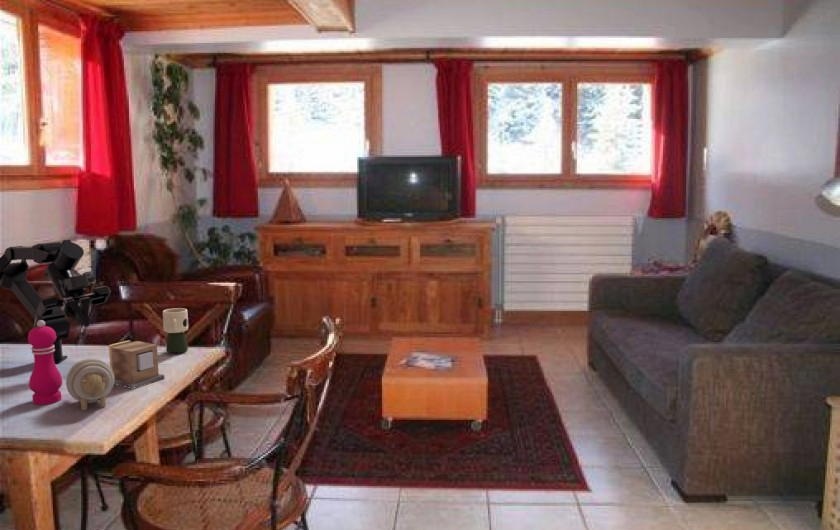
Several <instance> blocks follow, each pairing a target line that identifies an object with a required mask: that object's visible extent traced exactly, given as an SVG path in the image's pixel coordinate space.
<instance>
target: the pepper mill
mask: <svg viewBox="0 0 840 530" xmlns="http://www.w3.org/2000/svg"><path fill="white" fill-rule="evenodd" d="M37 326H38V327H36V328H34V327H33V328H32V329H31V330H30V331H29V333H28V335H27V341H28V343H29V345H31V346H32V347H31V348H30V349H31V354H33V358H34V359H33V360H34V361H33V363H34V364H33V368H32V371H31V375H30V377H29V381H28V386H29V387H28V388H29V389H30V391H32V392H33V394H32V395H31V397H32V403H33V404H35V405H49V404H54V403H57V402H59V401H60V400H62V391H61V390H60V388H61V387H62V386H63V377H62V375H61V372H60V371H59V369H58V367H57V366H56V363H54V358H53V352H54V351H55V349H54V347H55V346H54V345H53V343H54V342H55V340H56V333H55V331H54V330H53V329H52V328H50V327H47V326H45V322H44V321H43V320H39V321H38V322H37Z"/></svg>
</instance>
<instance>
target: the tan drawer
mask: <svg viewBox="0 0 840 530" xmlns="http://www.w3.org/2000/svg"><path fill="white" fill-rule="evenodd" d="M130 342H132V341H131V340H125V341H120V342H117V343H112V344H109V345H108V353H109V354H108V355H109V366H110V367H111V369H112V371H113V368H112V353H111V348H112V347H115V346H118V345H122V344H126V343H130ZM136 357H137V370H140V371H141V370H144V369H148V368H151V367H153V352H150V351H146V352H142V353H139V354H136Z"/></svg>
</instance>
